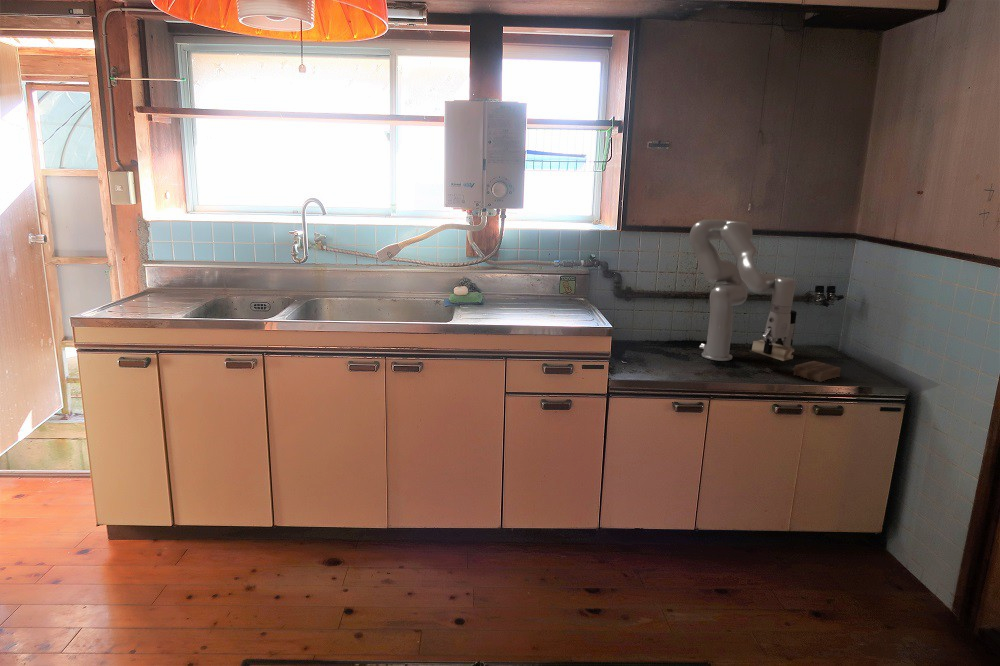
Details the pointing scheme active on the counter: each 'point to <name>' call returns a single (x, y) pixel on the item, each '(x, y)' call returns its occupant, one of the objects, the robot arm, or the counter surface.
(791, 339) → the spray can
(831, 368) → the brown grooved flat slab
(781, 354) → the maple plank
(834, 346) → the counter surface
